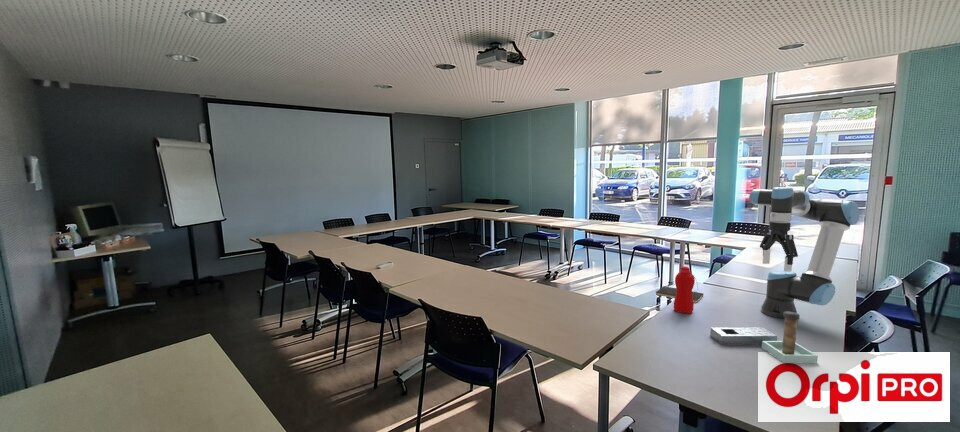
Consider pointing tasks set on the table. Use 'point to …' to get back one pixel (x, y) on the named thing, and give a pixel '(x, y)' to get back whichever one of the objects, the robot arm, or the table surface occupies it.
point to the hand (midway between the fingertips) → (776, 267)
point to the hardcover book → (673, 291)
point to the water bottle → (684, 291)
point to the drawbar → (742, 335)
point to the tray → (798, 357)
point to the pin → (789, 332)
